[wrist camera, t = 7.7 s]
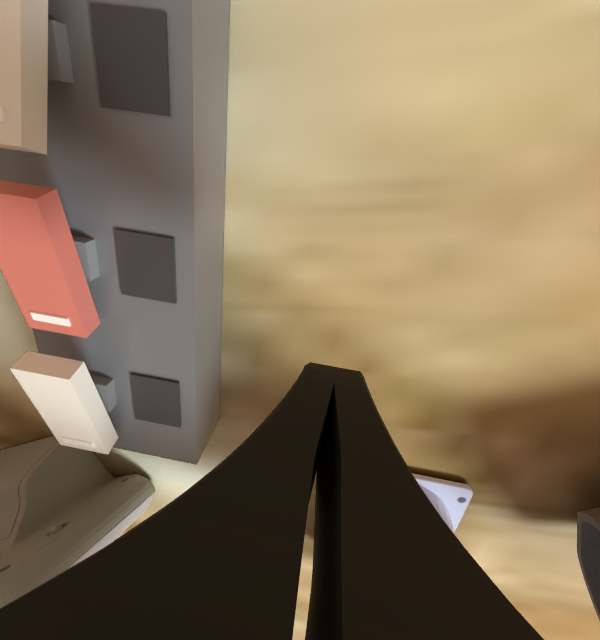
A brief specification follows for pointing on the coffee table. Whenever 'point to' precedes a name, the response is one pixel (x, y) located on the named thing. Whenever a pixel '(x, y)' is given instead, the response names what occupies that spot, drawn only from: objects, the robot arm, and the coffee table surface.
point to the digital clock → (59, 511)
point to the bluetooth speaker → (590, 552)
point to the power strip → (141, 206)
